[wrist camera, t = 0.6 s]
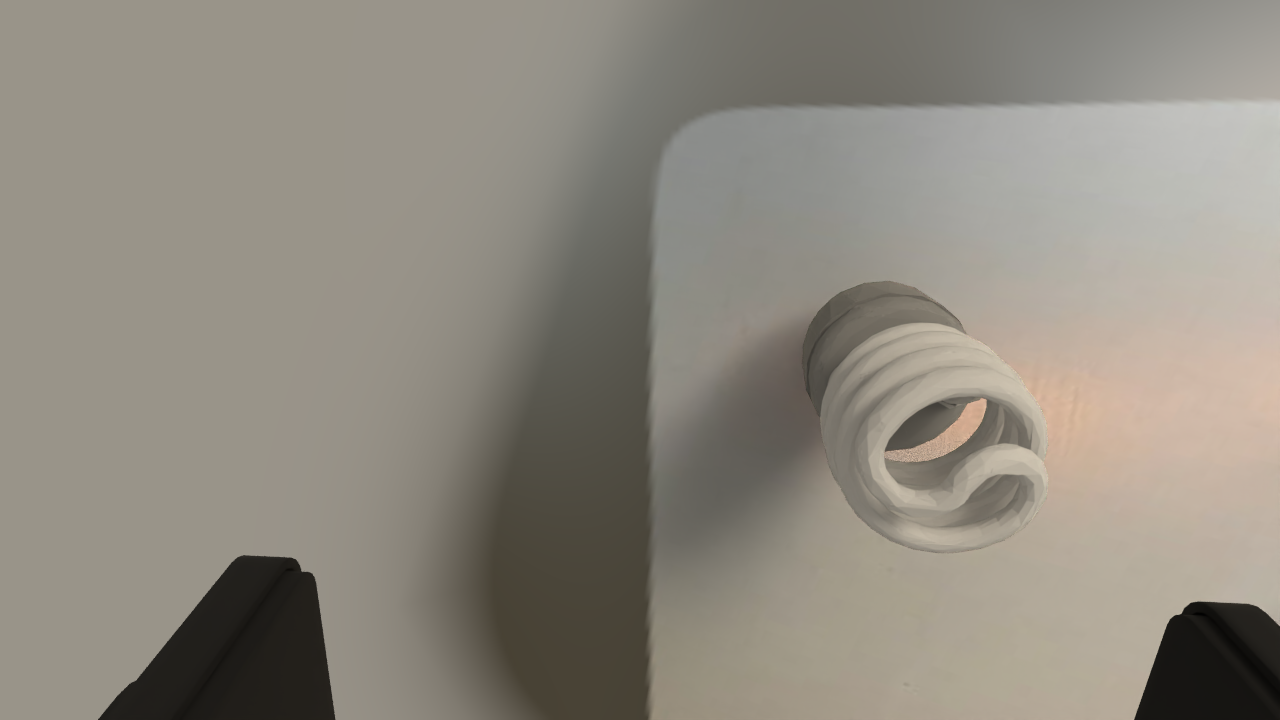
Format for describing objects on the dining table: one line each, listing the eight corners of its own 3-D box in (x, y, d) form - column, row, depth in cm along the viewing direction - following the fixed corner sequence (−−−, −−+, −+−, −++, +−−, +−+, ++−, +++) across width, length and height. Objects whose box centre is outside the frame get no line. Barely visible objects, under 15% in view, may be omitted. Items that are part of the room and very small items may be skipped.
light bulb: (943, 250, 30) (1106, 386, 19) (927, 391, 32) (1063, 588, 21) (787, 253, 30) (855, 389, 19) (781, 392, 32) (839, 588, 21)
